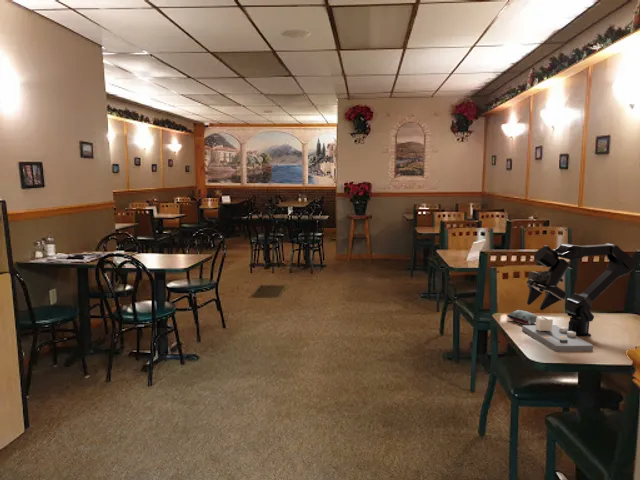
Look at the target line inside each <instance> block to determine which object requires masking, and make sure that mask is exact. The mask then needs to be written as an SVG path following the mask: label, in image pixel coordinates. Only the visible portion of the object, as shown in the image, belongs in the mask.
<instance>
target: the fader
mask: <svg viewBox="0 0 640 480" xmlns="http://www.w3.org/2000/svg"><path fill="white" fill-rule="evenodd" d="M553 322H554V320H553V318H550V317H549V316H548V317H545V316H541V317H539V316H537V317H536V323H535V325H536V329H537V330H539V331H552V325H553Z"/></svg>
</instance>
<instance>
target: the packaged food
mask: <svg viewBox="0 0 640 480" xmlns="http://www.w3.org/2000/svg"><path fill="white" fill-rule="evenodd" d="M506 316H507V317H508V318H509V320H511V321H513V322H517V323H519V324H523V325H533V324H536V317H538V315H536V314H535V313H533V312H530V311H526V310H521V309H517V310H514V311H512V312H511V313H508V314H506Z"/></svg>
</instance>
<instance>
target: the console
mask: <svg viewBox="0 0 640 480" xmlns="http://www.w3.org/2000/svg"><path fill="white" fill-rule="evenodd" d="M521 331H522V332H524V333H526V334H528V335H529V336H531V337H532V338H534V339H535V340H537V341H538V342H540V343H542V344H543V345H544V346H546V347H548V348H550V349H551V350H553V351H554V352H591V351H593V352H594V345H593V344H592V343H590V342H588V341H586V340H584V339H582V338H581V337H579V336H576V332H573V331H568V327H564V326H557V325H556V324H552V331H539V330H537V329H536V324H528V325H527V324H523V325H522V326H521Z"/></svg>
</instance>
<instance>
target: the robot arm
mask: <svg viewBox="0 0 640 480" xmlns="http://www.w3.org/2000/svg"><path fill="white" fill-rule="evenodd" d="M591 256H592V257H593V256H606V259H607V260H608V263H607V267H606V269H605V271H604V272H602V273H601V275H599V276H598V277H597V278H596V279H595V280H594V281H593V282H591V284H590V285H589V286H588V287H587V288H586V289H584V291H582V293H581V292H580V293H579V294H578V293H575V292H573V293H572V294H571V295H570V297H568V298H566V297H567V291H565V290H563V289H562V288H561V287H558V285H559V284H560V283H563V281H564V279H563V277H564V276H565V273H567V271H568V270H569V269H571V270H575V267H574V264H573V261H577V260H581V259H582V258H584V257H591ZM533 258H534V260H535V261H536V262H538V263H539V264H541V265H542V266H544V267H545V268H548V269H547V270H544V271H539V272H536V271H531V270H530V271H529V272H528V278H527V279H528V280H527V281H526V283H525V284H526V285H527V288H528V289H529V290H528V291H529V293H528V298H527V301H526V305H528V306H530V305H531V304H532V303H533V302H534V303H535V301H536V300H537V299H538V298H539V297H540V296H542V295H543V291H544V294H545V296H544V299H543V301H542V302H541V304H540V306H539V310H540V311H544V310H545V309H547V308H549V307H551V306H552V305H554V304H555V303H557V302H561V301H562V300H565V299H566V301H565V303H564V309H565V311H566V315H567V316H568V317H569V321H568V326H567V328H568V331H573V332H576V336H577V337H579V336H580V337H581V336H583V337H584V336H592V334H591V333H589V328H590V322H593V320H594V319H595V316H594V314H593V313H592V312H591V310H592V307H593V302H594V301H595V300H596V299H598V297H599V296H600V295H602V293H604V292H605V291H606V289H608V288H609V287H610V286H611V285H612V284H613V283H614V282H615V281H616V280H617V279H618V278H620V277H623V276H625V275H628V274H629V273H630V272H632V271H634V270H635V269H636V264H637V263H636V260H635V258H633V257H632V256H630V255H629V254H628V253H627V252H625V251H624V250H622V248H620V247H619V245H617V244H613V243H605V244H604V243H601V244H587V245H578V244H577V245H576V244H572V243H562V244H560V245H559V247H556V248H554V249H552V248H551V247H550V246H548V245H543V246H542V247H541V248H539V249H537V251H535V253H534V256H533ZM567 260H568V261H567Z"/></svg>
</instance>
